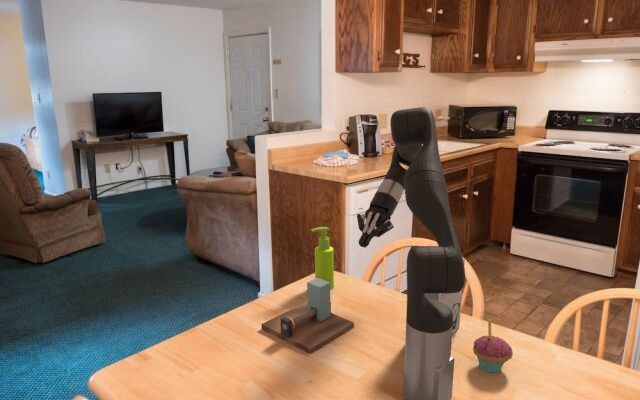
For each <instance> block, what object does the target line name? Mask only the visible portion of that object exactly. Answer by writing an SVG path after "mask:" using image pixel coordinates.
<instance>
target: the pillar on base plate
mask: <svg viewBox="0 0 640 400" xmlns="http://www.w3.org/2000/svg"><path fill="white" fill-rule="evenodd" d="M330 312H331V316H330V317H328V318H326V319H325V320H323V321H321V322H320V321H318V320H317V315H315V314H316V313H317V309H316V308H313V309H311V310H309V311H308V303H307V301H306V302H303V303H301V304H299V305H297V306H295V307H293V308H290V309H289V310H287V311H285V312H283V313H281V314H279V315H277V316H275V317H272V318H271V319H269V320H267V321H265V322H263V323H261V330H263V331H265V332H266V333H269V334H270V335H273V336H274V337H276V338H278V339H280V340H282V341H284V342H286V343H287V344H290V345H292V346H294V347H296V348H298V349H299V350H301V351H304V352H305V353H307V354H309V355H312V354H314V353H315V352H316V351H318V350H319V349H321V348H322V347H325V346H326V345H328V344H329V343H331V342H333V341H334V340H336V339H337V338H340V336H342V335H344V334H346V333H348V332H349V331H350V330H353V328H354V327H355V323H354V321H352V320H349V319H347V318H345V317H342V316H340V315H338V314H335V313H333V312H332V302H331V301H330ZM313 315H315V316H313ZM311 316H313V317H311Z"/></svg>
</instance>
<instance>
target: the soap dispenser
mask: <svg viewBox="0 0 640 400" xmlns="http://www.w3.org/2000/svg"><path fill="white" fill-rule="evenodd" d="M310 231H312V233H317V232H321V233H320V234H321V236H319V237H318V246H315V248H314V279H315V278H319V279H322V280H325V281H328V282H330V291H332V290H333V289H334V287H335V286H334V285H335V282H334V281H335V280H334V279H335V278H334V277H335V275H334V274H335V273H334V272H335V271H334V269H335V268H334V266H335V263H334V261H335V259H334V256H335V255H334V253H335V252H334V251H335V250H334V247H332V246H331V245H330V243H331V242H330V240H331V239H330V236H328V235H327V234H328V232H327V231H330V227H328V226H318V227H314V228H311V229H310Z"/></svg>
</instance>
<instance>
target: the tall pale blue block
mask: <svg viewBox="0 0 640 400" xmlns="http://www.w3.org/2000/svg"><path fill="white" fill-rule="evenodd" d="M306 287H307V289H306V290H307V291H306V294H307V296H306V297H307V298H306V299H307V301H306V302H307V303H308V311H309V310H311V309H313V308H316V309H317V313H316V314H315V315H317V320H318V321H320V322H321V321H323V320H325V319H326V318H328V317H330V316H331V313H332V311H331V312H330V302H331V290H330V282H328V281H325V280H322V279H319V278H315V277H314V278H313V279H311V280H309V281H306ZM315 315H313V316H315ZM313 316H311V317H313Z"/></svg>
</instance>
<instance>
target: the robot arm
mask: <svg viewBox="0 0 640 400" xmlns="http://www.w3.org/2000/svg"><path fill="white" fill-rule="evenodd" d="M390 133H391V138H392V141H393V143H394V145H395V146H394V147H393V150H392V155H391V157H392V158H391V162H390V165H389V168H388V170H387V173H386V174H385V176H384V179H383V180H382V182H381V183H380V184H379V186H378V188H377V190H376V191H375V194H374V195H373V197H372V199H371V201H370V203H369V207H368V209H366V210H365V212H364V213H363V214H360V213H357V215H356V220H357V224H358V229H359V230H360V232H361V236H360V237H359V239H358V245H359V247H361V248H365V249H366V248H367V247H369V245H370V242H371V241H372V239H373V238H375V237H376V238H380V237H382V236H383V235H385V234H386V233H388V232H390V230H392V229H394V228H395V226H394V224H393V223H392V222H391V217H392V216H393V215H394V213H395V211H396V209H397V207H398V205H399V203H400V201H401V199H402V196H403V193H404V195H405V196H404V197H405V202H406V205H407V208H408V209H409V211H410V212H411V213H412V214H413V216H414V217H415V218H417V220H418V221H419V222H420V223H421V224H422V225H424V227H425V228H426V229H427V230H428V231H429V232H430V233H431V234H432V237H433V238H434V240H435V241H436V243H437V245H431V246H430V245H419V246H418V245H415V246H412V247H411V248H410V249H409V250H408V252H407V256H406V291H407V292H406V315H405V316H406V318H405V319H406V320H405V321H406V322H405V344H404V345H405V346H404V365H403V366H404V369H403V372H404V373H403V396H404V398H405V399H406V400H451V399H452V398H453V386H454V384H453V383H454V371H455V357H454V356H451V352H452V338H453V337H452V336H453V334H452V326H453V313H452V310H451V309H450V308H449V307H448V306H447V305H445V304H444V303H442V302H439V301H437V300H434V299H432V298H429V297H427V296H426V295H424V294H425V293H457V292H460V291H461V290H462V291H463V288H464V286H465V282H466V270H465V269H466V268H465V264H464V262H463V257H464V256H463V254H462V250H461V246H460V244H459V240H458V236H457V233H456V230H455V226H454V222H453V219H452V213H451V207H450V201H449V193H448V187H447V183H446V182H447V181H446V177H445V174H444V170H443V164H442V162H441V161H442V160H441V156H440V150H439V143H438V134H437V133H438V132H437V123H436V119H435V114H434V112H433V110H432V109H431V108H429V106H428V107H426V106H421V107H420V106H418V107H413V108H406V109H398V110H396V111H393V113H392V114H391V117H390ZM402 165H404V166H406V167H408V168H407V169H406V168H404V167H403V166H402Z"/></svg>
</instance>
